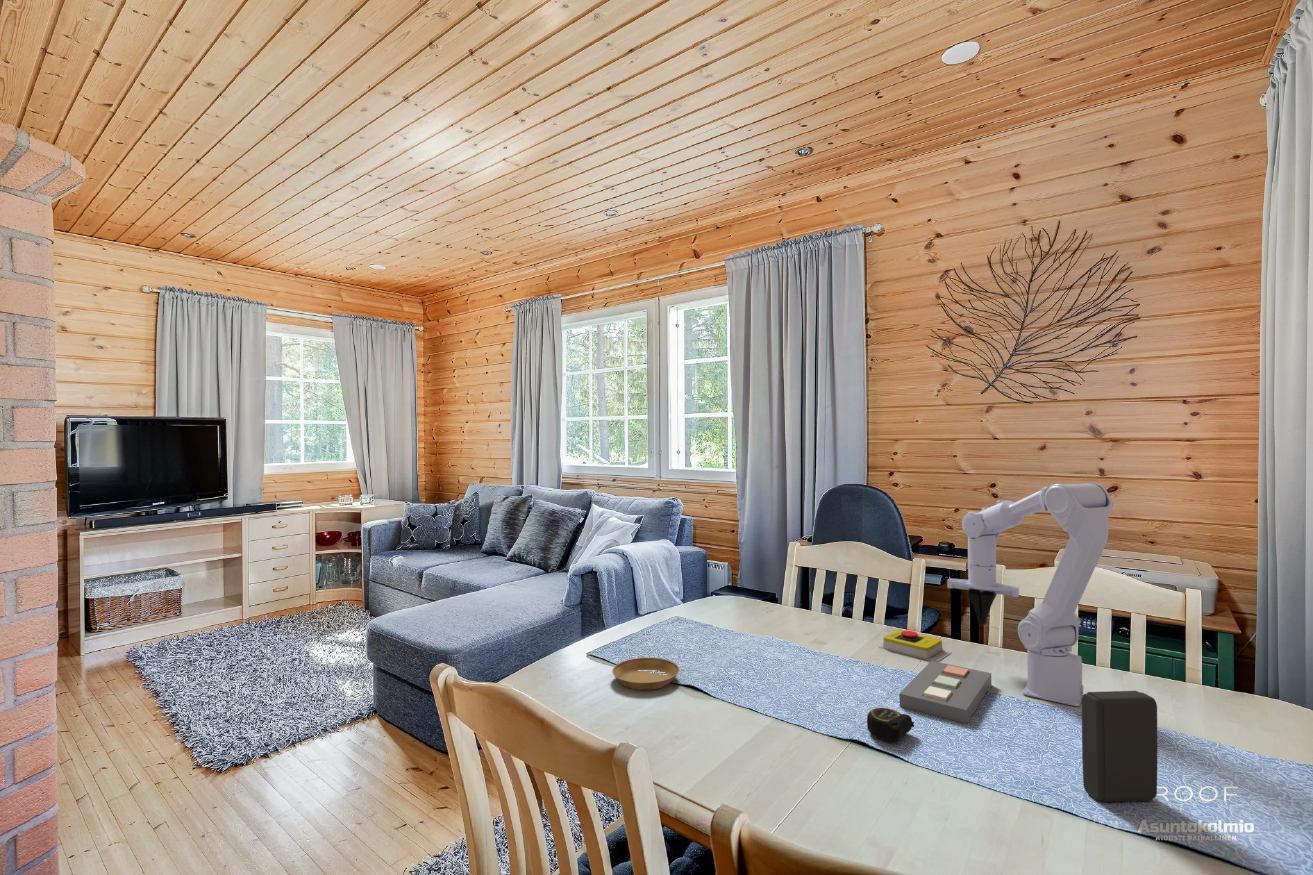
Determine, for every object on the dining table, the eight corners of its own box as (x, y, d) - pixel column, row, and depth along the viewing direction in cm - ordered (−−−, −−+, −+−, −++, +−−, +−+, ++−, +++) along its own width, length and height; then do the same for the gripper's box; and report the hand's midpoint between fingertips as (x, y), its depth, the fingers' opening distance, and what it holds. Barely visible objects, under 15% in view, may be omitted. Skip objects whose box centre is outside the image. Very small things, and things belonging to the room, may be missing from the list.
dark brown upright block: (1139, 787, 93) (1138, 687, 93) (1161, 803, 89) (1160, 699, 89) (1079, 789, 93) (1078, 689, 93) (1099, 805, 89) (1098, 700, 89)
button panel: (991, 684, 131) (991, 673, 131) (966, 723, 114) (966, 709, 114) (931, 671, 139) (931, 660, 139) (899, 706, 122) (899, 693, 121)
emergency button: (893, 623, 162) (952, 636, 151) (893, 640, 162) (952, 654, 151) (875, 631, 155) (936, 645, 144) (876, 648, 155) (936, 664, 144)
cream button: (951, 703, 121) (951, 690, 121) (945, 711, 118) (945, 697, 118) (929, 698, 124) (929, 685, 124) (923, 705, 121) (923, 692, 121)
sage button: (960, 691, 127) (960, 679, 127) (955, 698, 123) (955, 686, 123) (939, 687, 129) (939, 675, 129) (934, 693, 126) (933, 681, 126)
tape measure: (897, 749, 105) (897, 727, 105) (859, 735, 110) (859, 714, 110) (914, 735, 110) (914, 714, 110) (877, 722, 115) (877, 702, 115)
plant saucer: (603, 691, 131) (603, 679, 131) (623, 666, 145) (623, 655, 145) (671, 697, 127) (671, 685, 127) (685, 671, 142) (685, 659, 142)
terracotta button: (968, 681, 132) (968, 669, 132) (963, 687, 129) (963, 675, 129) (948, 676, 135) (948, 665, 135) (943, 682, 131) (943, 670, 131)
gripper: (1021, 565, 141) (1021, 624, 141) (952, 557, 150) (953, 613, 151) (1015, 570, 136) (1016, 632, 136) (944, 562, 145) (945, 620, 145)
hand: (982, 623), depth 143 cm, fingers closed
